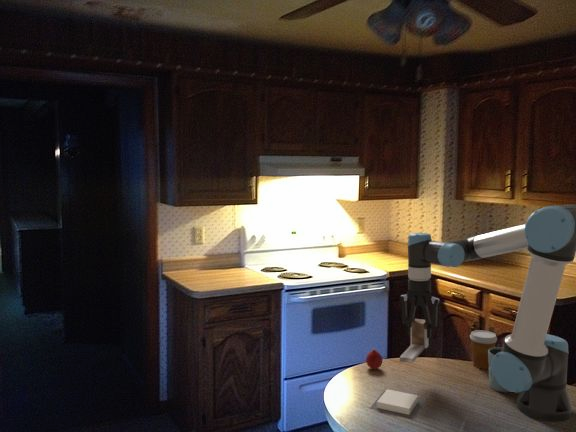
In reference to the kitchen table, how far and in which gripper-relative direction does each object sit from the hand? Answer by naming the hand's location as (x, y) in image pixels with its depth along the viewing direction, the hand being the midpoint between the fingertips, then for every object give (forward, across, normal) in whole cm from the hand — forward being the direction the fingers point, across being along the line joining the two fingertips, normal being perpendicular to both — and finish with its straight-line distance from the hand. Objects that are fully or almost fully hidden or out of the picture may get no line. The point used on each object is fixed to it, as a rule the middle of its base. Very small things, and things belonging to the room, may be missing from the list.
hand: (419, 345), depth 190 cm
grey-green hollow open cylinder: (+13, -26, -7) cm, 30 cm away
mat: (+12, +1, +22) cm, 25 cm away
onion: (+12, +17, -1) cm, 21 cm away
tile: (+11, +1, +18) cm, 21 cm away
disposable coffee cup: (+13, -17, -23) cm, 32 cm away
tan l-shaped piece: (0, 0, +7) cm, 7 cm away
